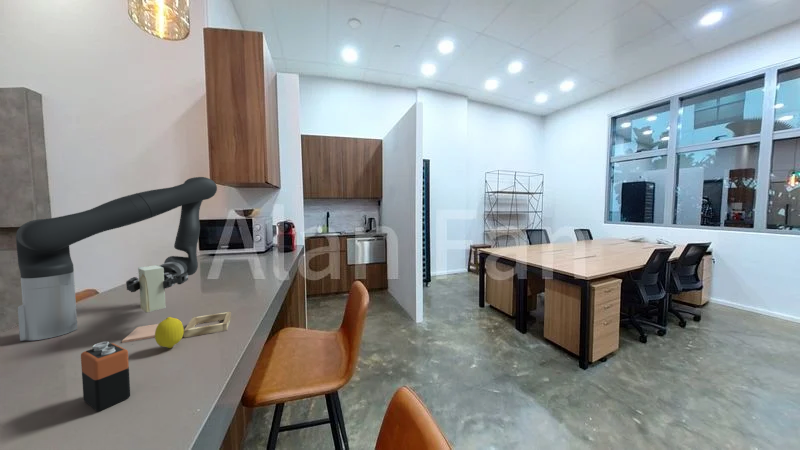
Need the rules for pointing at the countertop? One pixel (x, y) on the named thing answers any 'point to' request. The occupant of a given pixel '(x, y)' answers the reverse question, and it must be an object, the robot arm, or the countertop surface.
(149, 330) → the terracotta tile
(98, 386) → the battery
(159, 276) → the skincare box
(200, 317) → the square wooden frame
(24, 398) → the countertop surface
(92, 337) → the countertop surface
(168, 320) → the lemon
